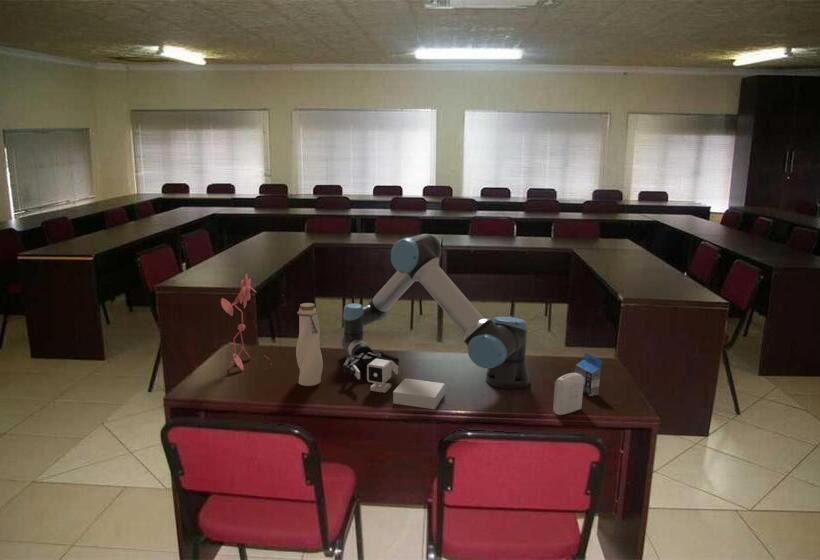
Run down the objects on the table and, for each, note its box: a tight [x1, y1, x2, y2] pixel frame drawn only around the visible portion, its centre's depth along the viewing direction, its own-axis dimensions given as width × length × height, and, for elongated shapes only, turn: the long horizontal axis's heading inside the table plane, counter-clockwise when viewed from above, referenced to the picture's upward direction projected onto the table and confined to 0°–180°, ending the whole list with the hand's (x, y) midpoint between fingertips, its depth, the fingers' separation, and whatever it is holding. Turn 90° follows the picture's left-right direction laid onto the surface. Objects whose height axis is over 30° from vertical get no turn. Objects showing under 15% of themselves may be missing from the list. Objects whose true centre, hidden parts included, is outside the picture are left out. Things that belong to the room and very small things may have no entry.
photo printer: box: [552, 372, 584, 416], centre depth 193 cm, size 10×4×12 cm, turn 123°
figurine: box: [220, 272, 272, 376], centre depth 226 cm, size 15×26×35 cm, turn 178°
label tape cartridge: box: [574, 352, 603, 397], centre depth 208 cm, size 9×4×12 cm, turn 23°
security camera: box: [366, 358, 392, 394], centre depth 208 cm, size 6×7×10 cm
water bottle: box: [295, 302, 324, 387], centre depth 212 cm, size 10×9×28 cm
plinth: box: [392, 378, 446, 410], centre depth 202 cm, size 14×12×4 cm
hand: (378, 372), depth 208 cm, fingers open, 13 cm apart
